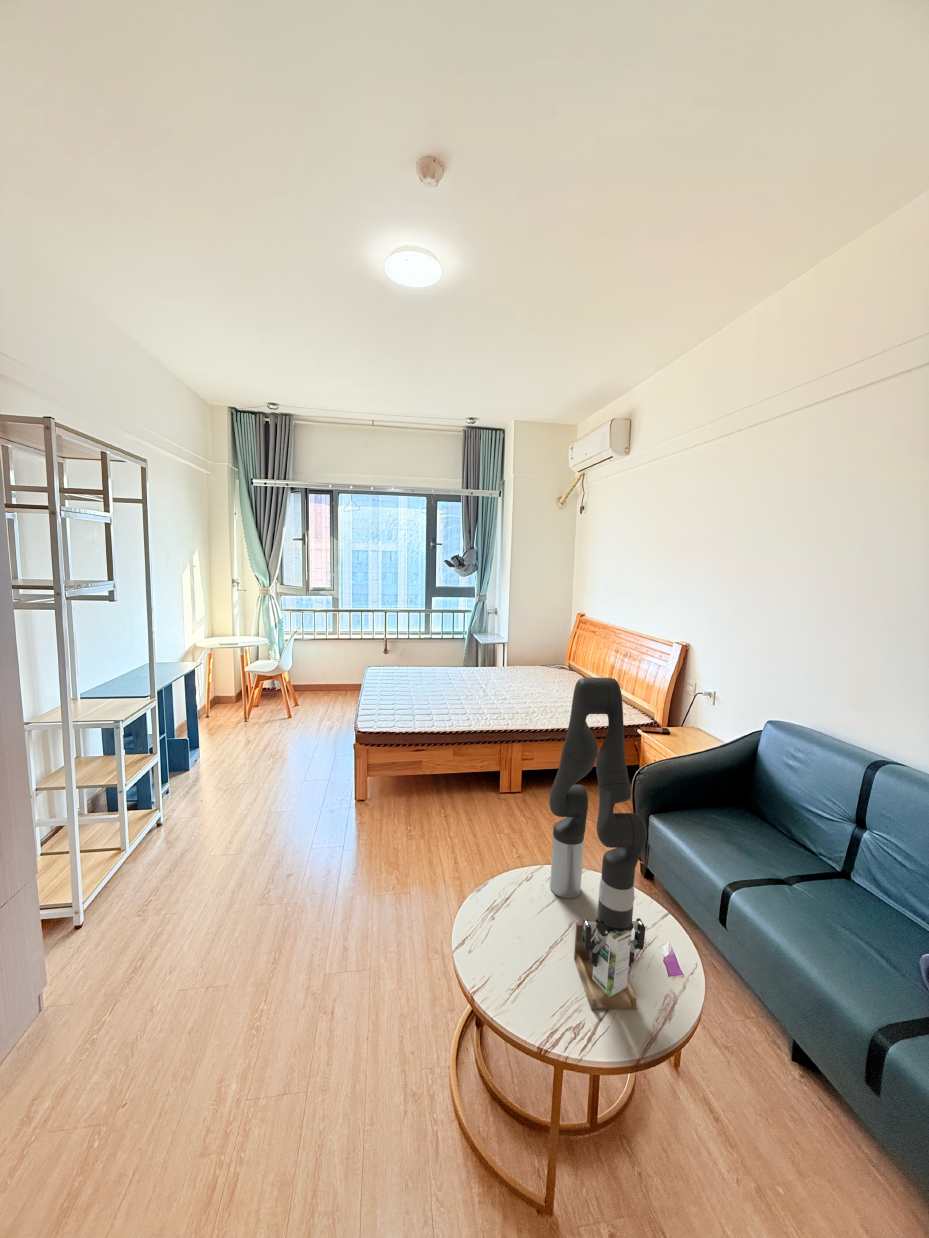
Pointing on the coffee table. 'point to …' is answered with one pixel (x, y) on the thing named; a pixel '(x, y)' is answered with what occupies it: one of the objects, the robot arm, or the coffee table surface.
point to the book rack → (592, 989)
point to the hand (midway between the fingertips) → (610, 963)
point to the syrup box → (613, 962)
